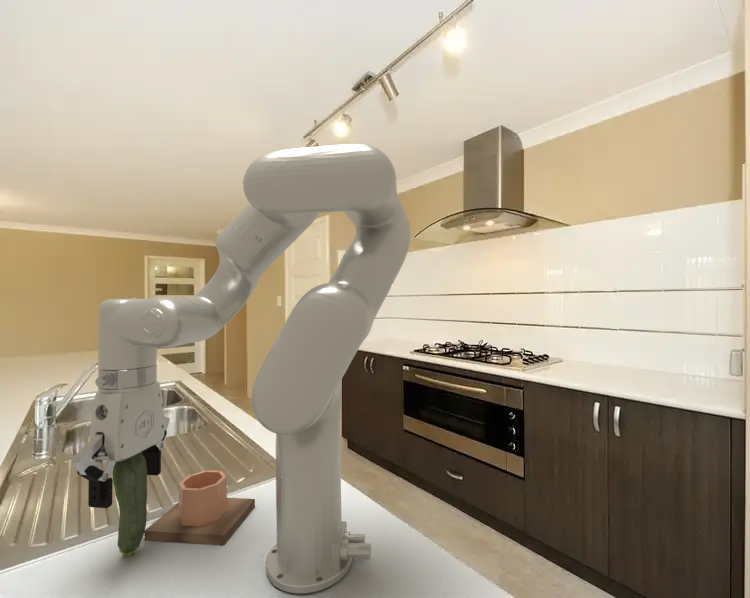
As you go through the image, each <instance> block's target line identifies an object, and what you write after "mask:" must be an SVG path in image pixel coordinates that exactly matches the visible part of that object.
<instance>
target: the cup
mask: <svg viewBox="0 0 750 598" xmlns="http://www.w3.org/2000/svg"><path fill="white" fill-rule="evenodd" d="M227 477H228V476H227V475H226V474H225V473H224V472H223V470H211V469H210V470H209V469H208V470H203V471H199V472H196V473H192V474H189V475H187V476H186V477H185V478H183V479H182V480H181V481H180V482H178V502H179V518H180V520H181V523H182V525H183V526H202V525H205V524H207V523H210V522H213V521H216V520H218V519H219V518H220V517H221V516H222V515H223V514H224V513H225V511H226V510H227V498H228V491H227V490H228V489H227V486H228V485H227V484H228V483H227V482H228V481H227V480H228V479H227Z"/></svg>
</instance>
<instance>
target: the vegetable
mask: <svg viewBox="0 0 750 598" xmlns="http://www.w3.org/2000/svg"><path fill="white" fill-rule="evenodd" d="M111 473H112V480H113V483H112V485H113V488H114V489H113V490H114V495H115V498H116V501H117V506H118V511H119V512H118V513H119V514H118V515H119V522H118V534H117V536H118V537H117V547H118V549H119V553H120V554H121V556H122V558H124V557H125V558H126V557H130V556H132V555H133V554H134V553H135V551H136V550H137V549H138V548H139V547H140V546H141V543H142V541H143V538H144V531H145V530H146V527H147V511H148V510H147V503H148V501H147V500H148V488H147V487H148V475H147V466H146V460H145V457H144V456H143V455H142V453H141V452H140V453H139V454H137V455H135V456H133V457H131V458H129V459H127V460H125V461H122V462H117V461H116V463H115V465H114V467H113V469H112V471H111Z"/></svg>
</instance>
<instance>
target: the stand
mask: <svg viewBox="0 0 750 598" xmlns="http://www.w3.org/2000/svg"><path fill="white" fill-rule="evenodd" d="M255 507H256V498H247V497H246V498H245V497H244V498H243V497H242V498H240V497H227V510H226V511H225V513H224V514H223V515H222V516H221V517H220V518H219V519H218V520H216V521H213V522H210V523H207V524H205V525H202V526H183V525H182V523H181V520H180V518H179V501H178V502H177V503H176V504H174V505H173V506H172V507H171V508H169V510H168V511H166V512H165V513H164V514H162V516H159V518H158V519H157V520H155V521H154V522H153V523H152V524H150V525H149V526H148V527H147V528H145V531H144V535H143V538H144V541H153V542H154V541H157V542H173V543H187V544H188V543H189V544H204V545H206V544H207V545H217V546H218V545H223V546H224V545H225V544H226V543H227V542H228V541H229V540H230V538H231V537H232V536H233V535H234V534H235V532H236V531H237V530H238V529H239V527H240V526H241V525H242V524H243V522H244V521H245V520H246V518H247V517H248V516H249V514H251V512H252V511H253V510H254V508H255Z"/></svg>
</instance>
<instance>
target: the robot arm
mask: <svg viewBox="0 0 750 598" xmlns="http://www.w3.org/2000/svg"><path fill="white" fill-rule="evenodd" d="M396 174H397V173H396V171H395V168H394V164H393V163H392V161H391V160H390V158H389V157H388V155H387V154H385V152H383V151H382V150H381V149H379V148H377V147H375V146H372V145H369V144H363V143H343V144H331V145H330V144H328V145H319V146H317V145H316V146H306V147H296V148H295V147H293V148H286V149H278V150H274V151H270V152H268V153H264V154H262V155H260V156H259V157H258V158H255V160H253V162H251V163H250V164H249V166H248V167H247V169H246V170H245V173H244V176H243V179H242V185H243V186H242V189H243V193H244V196H245V198H246V200H247V202H248V204H247V205H246V206H245V207H244V208H243V209H241V211H239V213H238V214H237V215H236V216H235V217H234V218H233V219H232V220H231V221H230V222H229V223H228V224H227V225H226V226H225V227H224V228H223V229H222V230H220V232H219V233H218V234H217V236H216V238H215V247H216V249H217V251H218V258H219V262H218V266H217V269H216V271H215V272H214V274H213V276H212V277H211V278H210V280H209V281H208V282H207V283H206V284H205V285H204V286H203V287H201V289H200V290H199V291H198V292H197V293H196V294H195V295H194V296H192V297H190V296H158V297H151V298H110V299H109V298H108V299H106V300H103V301H102V302H101V304H100V305H99V308H98V347H97V348H98V349H97V352H98V355H97V357H98V358H97V359H98V360H97V361H98V362H97V363H98V364H97V365H98V368H97V369H98V370H97V374H98V375H97V378H96V379H95V381H94V382H95V385H96V386H97V391H96V393H95V396H94V399H93V405H92V411H91V415H90V416H91V418H90V425H89V438H88V439H89V441H88V442H87V443H86V444H84V446H83V447H82V448H81V449H80V450H79V451H78V452H77V453H76V454H75V455H74V456H73V457H72V459H71V463H72V464H73V466H74V468H75V470H76V473H77V475H78V476H80V477H82V478H83V480H84V481H88V494H87V495H88V497H87V498H88V501H87V503H88V507H89V508H97V509H109V508H110V507H112V505H113V477H109V476H110V475H111V473H112V471H113V467H114V465H115V463H116V461H117V462H122V461H125V460H127V459H129V458H131V457H133V456H135V455H137V454H139V453H140V452H141V453H142V455H143V456H144V457H145V460H146V466H147V476H159V475H160V474H161V473H162V450H163V448H164V440H165V439H166V436H167V434H168V432H167V431H168V427H169V424H170V422H171V421H170V419H171V418H170V417H168V416H166V415H165V410H164V409H165V408H164V399H163V393H162V388H161V384H160V382H159V381H158V380H157V378H158V371H157V369H158V368H157V363H158V361H157V360H158V359H157V357H158V356H157V355H158V354H157V353H158V352H157V351H158V348H159V349H163V348H165V349H166V348H173V347H178V346H184V345H188V344H193V343H199V342H203V341H206V340H207V339H210V338H211V337H213V336H215V335H216V334H217V333H218V332H220V330H222V329H223V328H224V327H225V325H227V324H228V323H229V322H230V321H231V320H232V319H233V318H234V317H235V316H236V315H237V314H238V313H239V312H240V310H241V309H242V308H243V307H244V306H245V304H246V303H247V302H248V300H249V298H250V297H251V295H252V294H253V292H254V290H255V288H256V287H257V285H258V282H259V280H260V277H261V276H262V275H263V274H264V273H265V272H266V271H267V270H268V269H269V268H270V266H272V265H273V264H274V262H275V261H276V260H277V259H278V258H279V257H280V256H281V255H282V254H284V252H285V251H286V250H287V249H288V248H289V247H290V246H291V245H292V244H293V243H295V242H296V240H298V238H299V237H300V236H301V235H302V234H303V233H304V232H306V230H307V229H308V228H309V227H310V226H311V225H312V224H313V223H314V222H315V221H316V219H317V218H318V217H319V214H320V213H334V212H335V213H337V212H339V213H340V212H344V213H345V215H346V216H347V217H348V219H349V220H350V221H351V222H352V223H353V224H354V226H355V235H354V237H353V240H352V242H351V243H350V244H349V246H348V247H347V248H346V251H345V253H344V254H343V256H342V257H341V259H340V262H339V264H338V266H337V268H336V269H335V271H334V273H333V274H332V276H331V277H330V279H329V281H328V282H327V283H326V282H325V283H322V284H319V285H316V286H314V287H312V288H310V290H308V291H306V293H305V294H304V295H303V296H302V297H301V298H300V299H299V300H298V301H297V302H296V304H295V306H294V307H293V308H292V310H291V312H290V313H289V315H288V316H287V319H286V321H285V322H284V324H283V326H282V328H281V329H280V332H279V333H278V335H277V337H276V338H275V341H274V343H273V345H272V346H271V348H270V349H269V351H268V353H267V355H266V357H265V359H264V361H263V362H262V364H261V366H260V368H259V370H258V372H257V375H256V376H255V379H254V381H253V385H252V387H251V396H250V398H251V399H250V400H251V402H250V403H251V407H252V412H253V413H254V416H255V418H256V419H257V421H258V423H259V424H261V426H262V427H263V428H264V429H266V430H267V431H269V432H271V433H274V434H275V501H276V502H275V503H276V507H275V509H276V511H275V512H276V515H275V516H276V543H275V544H274V546H272V548H271V549H270V551H269V553H268V554H267V558H266V561H265V570H266V576H267V578H268V581H269V582H270V583H271V584H272V586H275V587H276V588H278V589H280V590H281V591H283V592H286V593H292V594H310V593H317V592H319V591H323V590H325V589H327V588H330V587H332V586H333V585H334V584H337V583H338V582H339V581H340V580H341V579H343V577H345V575H346V574H347V573H348V572H349V570H350V568H351V566H352V564H353V559H358V560H369V561H370V560H371V555H372V543H369V542H366V534H363V533H356V534H355V533H351V531H347V528H348V525H347V521H345V520H342V518H343V517H342V478H341V477H342V474H341V472H342V471H341V467H342V466H341V463H342V462H341V417H342V416H341V414H342V411H341V410H342V390H343V389H342V387H343V385H342V383H343V381H342V380H343V377H344V375H346V372H347V371H348V368H349V366H350V365H351V363H352V361H353V360H354V357H355V356H356V354H357V352H358V351H359V348H360V347H361V345H362V344H363V342H364V341H365V340H366V339H367V337H368V335H369V333H370V331H371V330H372V327H373V325H374V321H375V319H376V317H377V315H378V313H379V310H380V309H381V307H382V306H383V303H384V301H385V300H386V299H387V296H388V294H389V292H390V290H391V289H392V286H393V284H394V282H395V281H396V278H398V277H397V276H398V274H399V273H400V270H401V269H402V268H403V267H402V266H403V264H404V263H405V260H406V257H407V255H408V252H409V248H410V244H411V243H410V241H411V227H410V222H409V217H408V214H407V212H406V210H405V207H404V206H403V204H402V202H401V200H400V199H399V196H398V189H397V176H396ZM102 463H104V465H103V467H102V469H100V466H101V464H102Z"/></svg>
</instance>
